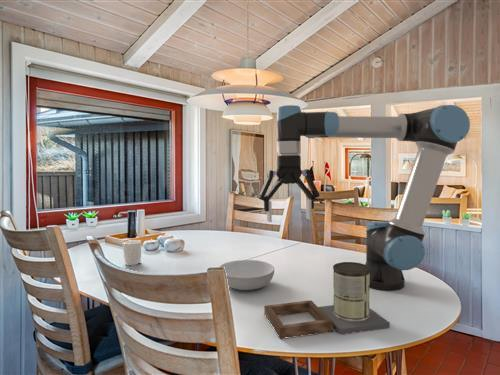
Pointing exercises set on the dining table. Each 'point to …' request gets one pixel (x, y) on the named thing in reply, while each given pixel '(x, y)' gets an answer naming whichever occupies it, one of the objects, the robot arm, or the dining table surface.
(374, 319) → the rubber mat
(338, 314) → the coffee can
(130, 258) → the white cup
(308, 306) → the walnut collar
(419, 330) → the dining table surface
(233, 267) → the serving bowl
